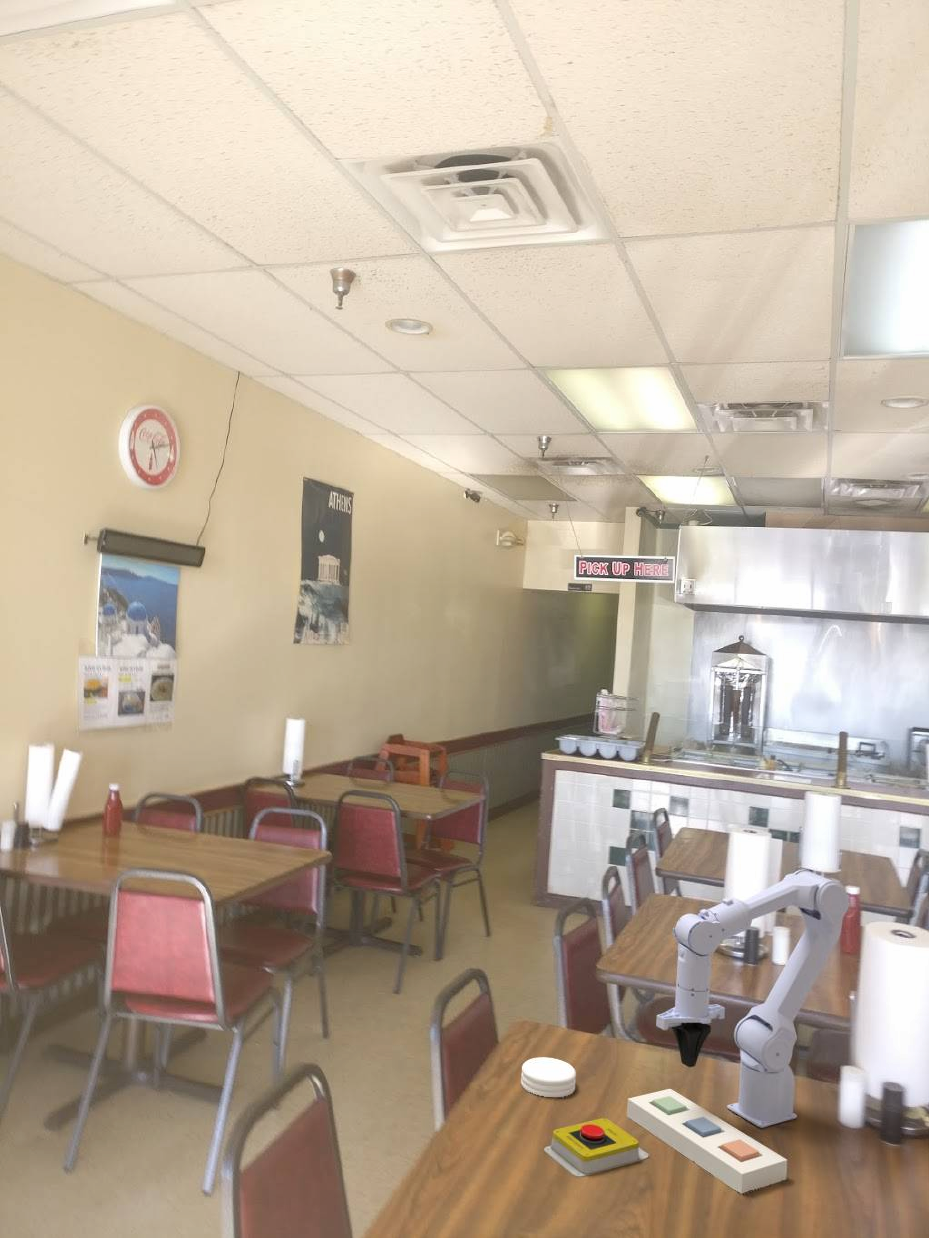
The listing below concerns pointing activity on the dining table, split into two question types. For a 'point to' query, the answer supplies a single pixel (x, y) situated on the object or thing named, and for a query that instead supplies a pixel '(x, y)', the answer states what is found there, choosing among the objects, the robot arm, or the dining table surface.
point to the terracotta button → (740, 1150)
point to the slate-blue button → (703, 1127)
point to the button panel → (708, 1143)
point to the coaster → (548, 1077)
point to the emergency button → (593, 1147)
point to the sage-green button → (669, 1105)
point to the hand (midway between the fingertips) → (688, 1064)
